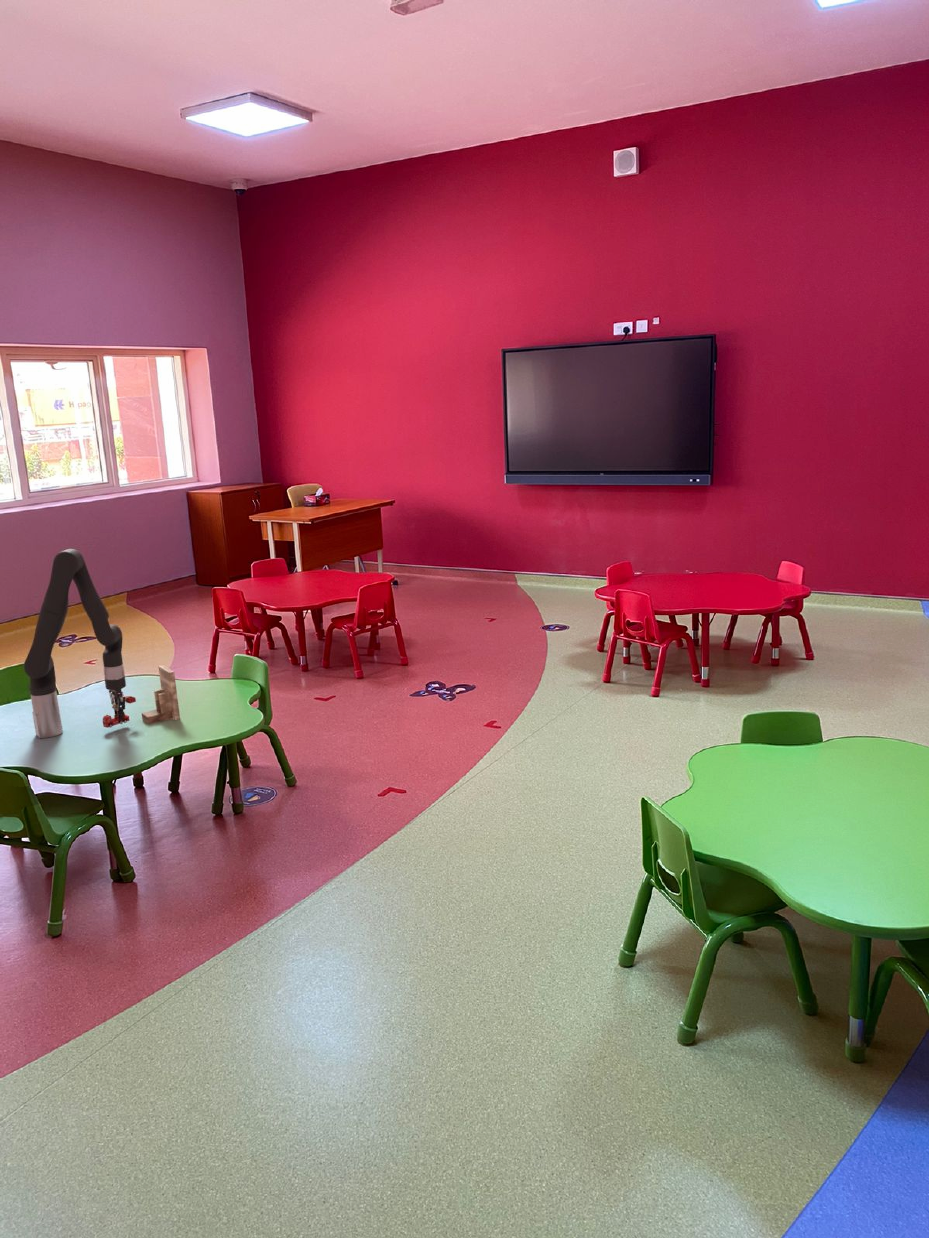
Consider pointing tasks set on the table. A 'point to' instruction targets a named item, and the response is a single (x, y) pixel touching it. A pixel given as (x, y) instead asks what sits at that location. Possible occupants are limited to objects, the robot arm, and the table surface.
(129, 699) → the toy fire truck
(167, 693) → the board
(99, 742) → the table surface
